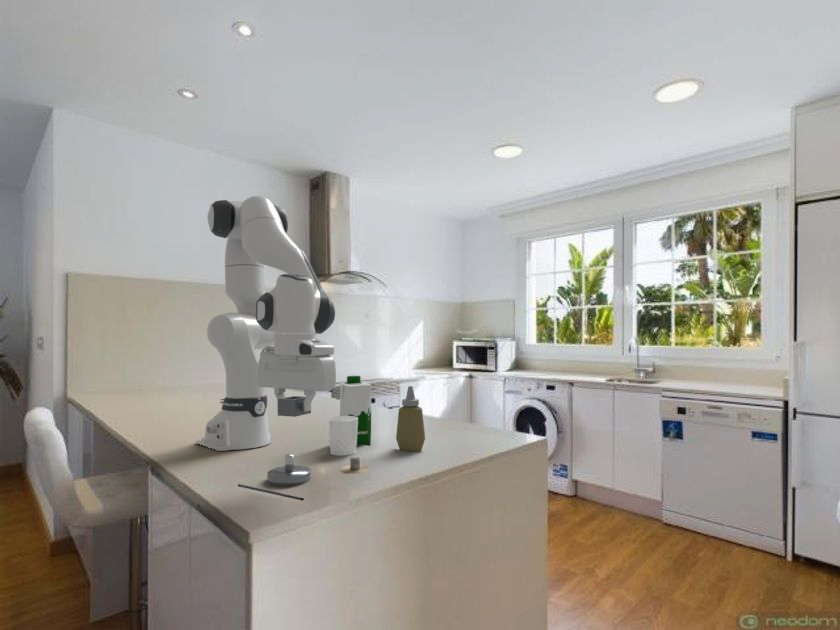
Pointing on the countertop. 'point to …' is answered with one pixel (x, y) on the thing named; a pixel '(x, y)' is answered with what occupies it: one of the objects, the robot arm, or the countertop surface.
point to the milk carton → (357, 406)
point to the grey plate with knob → (286, 476)
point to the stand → (355, 467)
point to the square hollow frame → (291, 406)
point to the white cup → (343, 435)
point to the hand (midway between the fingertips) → (294, 409)
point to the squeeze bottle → (410, 424)
